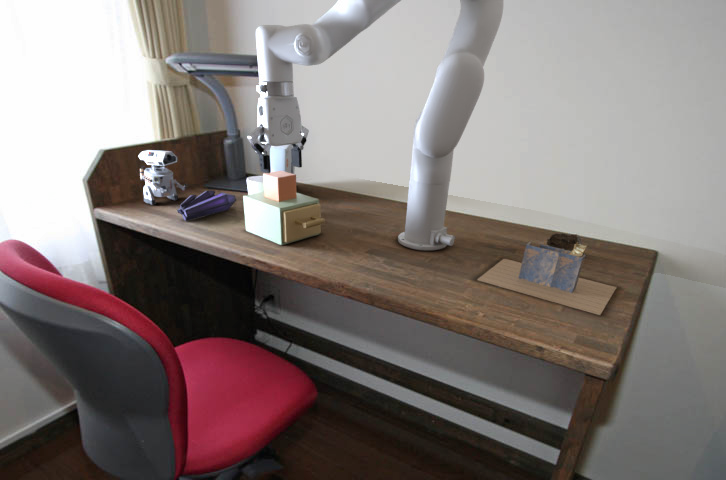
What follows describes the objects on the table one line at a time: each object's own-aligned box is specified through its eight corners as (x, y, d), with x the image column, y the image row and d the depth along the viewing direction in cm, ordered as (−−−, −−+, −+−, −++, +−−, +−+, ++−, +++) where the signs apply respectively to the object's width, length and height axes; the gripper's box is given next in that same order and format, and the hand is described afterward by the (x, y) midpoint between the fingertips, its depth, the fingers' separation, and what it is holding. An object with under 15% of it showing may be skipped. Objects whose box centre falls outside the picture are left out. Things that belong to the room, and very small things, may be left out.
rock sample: (601, 238, 116) (584, 217, 112) (592, 264, 114) (574, 243, 110) (563, 244, 125) (545, 224, 120) (554, 268, 123) (536, 249, 119)
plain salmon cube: (296, 197, 119) (296, 174, 116) (278, 201, 115) (277, 177, 112) (282, 193, 122) (281, 170, 119) (264, 196, 118) (263, 173, 115)
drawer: (332, 236, 119) (332, 208, 115) (298, 247, 112) (297, 217, 108) (287, 220, 129) (286, 193, 125) (252, 229, 122) (250, 200, 118)
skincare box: (287, 201, 149) (285, 148, 140) (270, 201, 149) (267, 147, 140) (296, 185, 167) (295, 137, 159) (280, 185, 167) (278, 137, 159)
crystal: (190, 202, 122) (246, 182, 135) (163, 199, 128) (219, 180, 141) (197, 229, 125) (251, 207, 139) (171, 224, 131) (224, 204, 145)
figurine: (163, 209, 136) (154, 155, 129) (141, 201, 142) (131, 149, 135) (190, 203, 143) (183, 151, 135) (168, 196, 149) (160, 145, 141)
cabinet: (319, 234, 123) (319, 199, 118) (281, 245, 115) (279, 208, 110) (283, 221, 131) (282, 188, 127) (245, 230, 123) (242, 195, 119)
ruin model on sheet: (616, 287, 101) (632, 243, 96) (600, 315, 89) (616, 267, 84) (504, 258, 113) (512, 218, 108) (476, 279, 101) (484, 236, 96)
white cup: (244, 216, 134) (241, 180, 128) (256, 209, 140) (253, 174, 135) (270, 219, 132) (268, 183, 127) (281, 212, 139) (279, 177, 134)
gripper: (255, 93, 99) (262, 177, 107) (316, 90, 110) (318, 166, 118) (234, 90, 103) (243, 172, 112) (295, 88, 114) (298, 162, 123)
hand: (281, 169), depth 115 cm, fingers open, 9 cm apart
